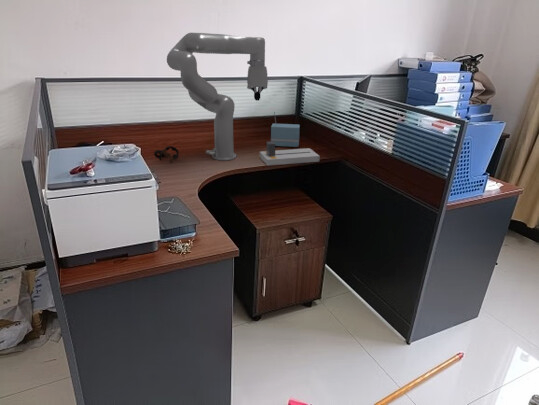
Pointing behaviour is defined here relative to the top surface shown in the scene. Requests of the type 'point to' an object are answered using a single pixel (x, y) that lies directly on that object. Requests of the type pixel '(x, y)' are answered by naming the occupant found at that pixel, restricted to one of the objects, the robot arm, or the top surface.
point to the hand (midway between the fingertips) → (257, 100)
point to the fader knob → (270, 148)
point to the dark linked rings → (165, 154)
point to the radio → (285, 134)
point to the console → (290, 156)
